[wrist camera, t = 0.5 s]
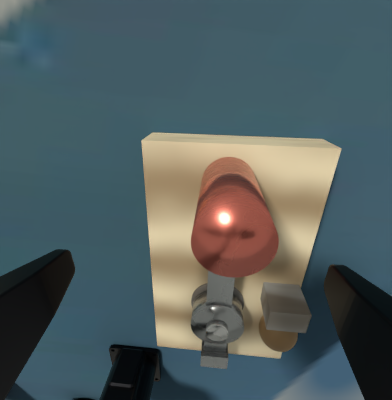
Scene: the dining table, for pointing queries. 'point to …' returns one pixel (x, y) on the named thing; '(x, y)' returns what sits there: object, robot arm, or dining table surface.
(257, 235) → the lever
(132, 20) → the dining table surface
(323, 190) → the block
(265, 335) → the walnut
